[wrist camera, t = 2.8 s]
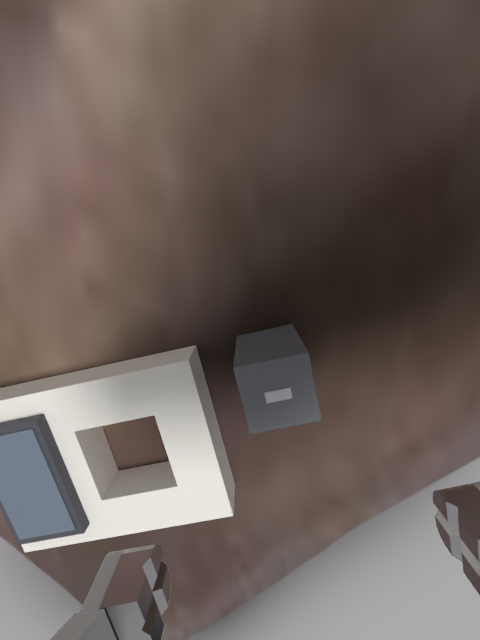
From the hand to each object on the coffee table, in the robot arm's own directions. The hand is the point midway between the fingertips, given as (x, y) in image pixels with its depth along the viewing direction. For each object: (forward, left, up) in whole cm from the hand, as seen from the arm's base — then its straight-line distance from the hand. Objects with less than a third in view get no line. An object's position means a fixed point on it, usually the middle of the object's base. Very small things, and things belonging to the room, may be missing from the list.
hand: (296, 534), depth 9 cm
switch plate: (+13, +4, -14) cm, 19 cm away
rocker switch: (0, 0, -14) cm, 14 cm away
